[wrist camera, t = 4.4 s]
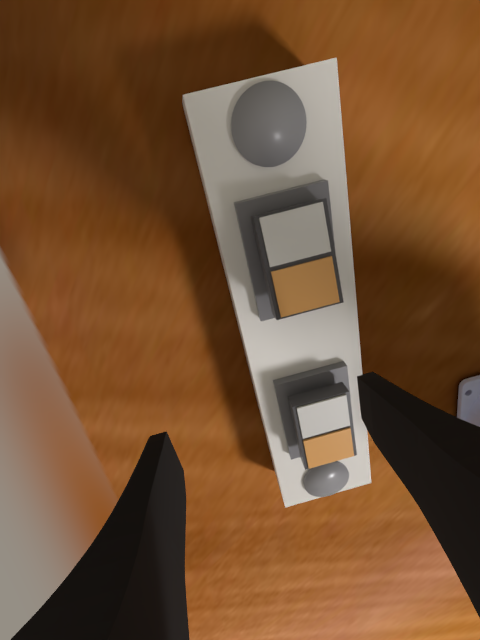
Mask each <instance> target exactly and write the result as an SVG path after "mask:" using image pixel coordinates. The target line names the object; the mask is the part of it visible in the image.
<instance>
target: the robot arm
mask: <svg viewBox="0 0 480 640" xmlns="http://www.w3.org/2000/svg"><path fill="white" fill-rule="evenodd" d="M357 383H358V392H359V401H360V411H361V419H362V420H363V422H364V424H365V426H366V428H367V430H368V432H369V434H370V435H371V437H372V439H373V441H374V443H375V444H376V445H377V447H378V448H379V450H380V451H381V453H382V454H383V456H384V457H385V458H386V460H387V461H388V463H389V464H390V465H391V467H392V468H393V470H394V471H395V472H396V474H397V475H398V477H399V478H400V479H401V481H402V482H403V484H404V485H405V486H406V488H407V489H408V491H409V492H410V494H411V495H412V497H413V498H414V500H415V501H416V503H417V504H418V506H419V507H420V509H421V511H422V512H423V514H424V516H425V518H426V519H427V521H428V523H429V525H430V526H431V528H432V530H433V531H434V533H435V535H436V537H437V539H438V540H439V542H440V544H441V546H442V548H443V549H444V551H445V553H446V555H447V557H448V558H449V560H450V562H451V564H452V566H453V568H454V569H455V571H456V573H457V575H458V577H459V579H460V581H461V583H462V585H463V586H464V588H465V590H466V592H467V594H468V596H469V598H470V600H471V602H472V604H473V606H474V608H475V609H476V611H477V613H478V615H479V617H480V375H478V376H474V377H470V378H467V379H464V380H462V381H461V382H460V384H459V392H458V408H457V417H455V416H453V415H450V414H448V413H446V412H444V411H442V410H440V409H438V408H436V407H434V406H432V405H430V404H428V403H426V402H424V401H422V400H421V399H419V398H417V397H415V396H413V395H411V394H410V393H408V392H406V391H404V390H403V389H401V388H399V387H398V386H396V385H394V384H392V383H391V382H389V381H387V380H386V379H384V378H382V377H381V376H379V375H377V374H376V373H374V372H370V373H367V374H363V375H360V376H357ZM185 528H186V491H185V480H184V470H183V468H182V466H181V463H180V461H179V459H178V457H177V454H176V452H175V450H174V447H173V445H172V443H171V440H170V438H169V436H168V434H167V431H166V432H163V433H159V434H156V435H152V436H150V437H149V439H148V441H147V443H146V445H145V448H144V450H143V452H142V454H141V457H140V459H139V461H138V463H137V465H136V467H135V469H134V472H133V474H132V476H131V478H130V480H129V482H128V484H127V486H126V488H125V489H124V491H123V493H122V495H121V497H120V499H119V500H118V502H117V504H116V506H115V508H114V509H113V511H112V513H111V515H110V516H109V518H108V520H107V521H106V523H105V525H104V526H103V528H102V529H101V531H100V532H99V534H98V535H97V537H96V538H95V540H94V542H93V543H92V544H91V546H90V547H89V548H88V550H87V551H86V553H85V554H84V555H83V557H82V558H81V559H80V561H79V562H78V563H77V565H76V566H75V567H74V569H73V570H72V571H71V573H70V574H69V575H68V576H67V578H66V579H65V580H64V581H63V582H62V584H61V585H60V586H59V587H58V588H57V590H56V591H55V592H54V593H53V594H52V595H51V597H50V598H49V599H48V600H47V601H46V603H45V604H44V605H43V606H42V607H41V608H40V609H39V611H37V612H36V614H35V615H34V616H33V617H32V618H31V619H30V620H29V621H28V622H27V623H26V624H25V625H24V626H23V627H22V628H21V629H20V630H19V631H18V632H17V633H16V635H15V636H14V637H13V638H12V639H11V640H189V629H188V617H187V603H186V588H185Z"/></svg>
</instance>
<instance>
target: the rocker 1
mask: <svg viewBox="0 0 480 640" xmlns="http://www.w3.org/2000/svg"><path fill="white" fill-rule="evenodd" d="M251 221H252V226H253V230H254V234H255V239H256V243H257V248H258V252H259V257H260V261H261V265H262V270H263V274H264V279H265V283H266V287H267V292H268V296H269V301H270V305H271V310H272V314H273V316H274V317H275V319H276V320H280V319H283V318H287V317H291V316H295V315H298V314H302V313H306V312H310V311H313V310H317V309H321V308H325V307H328V306H332V305H336V304H340V303H343V302H344V301H343V295H342V289H341V283H340V277H339V271H338V265H337V259H336V253H335V247H334V241H333V235H332V229H331V223H330V217H329V211H328V205H327V199H326V198H323V199H318V200H314V201H310V202H306V203H302V204H298V205H294V206H290V207H286V208H283V209H279V210H275V211H271V212H267V213H263V214H259V215H255V216H251Z"/></svg>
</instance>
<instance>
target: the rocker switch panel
mask: <svg viewBox="0 0 480 640" xmlns="http://www.w3.org/2000/svg"><path fill="white" fill-rule="evenodd" d="M182 104H183V108H184V112H185V116H186V120H187V124H188V128H189V132H190V136H191V140H192V144H193V148H194V152H195V156H196V160H197V164H198V168H199V172H200V176H201V180H202V184H203V188H204V192H205V196H206V200H207V204H208V208H209V212H210V216H211V220H212V224H213V228H214V232H215V236H216V239H217V243H218V247H219V251H220V255H221V259H222V263H223V267H224V271H225V275H226V279H227V283H228V287H229V291H230V295H231V299H232V303H233V307H234V311H235V315H236V319H237V323H238V327H239V331H240V335H241V339H242V343H243V347H244V351H245V355H246V359H247V363H248V367H249V371H250V375H251V379H252V383H253V387H254V391H255V395H256V399H257V403H258V407H259V411H260V414H261V418H262V422H263V426H264V430H265V434H266V438H267V442H268V446H269V450H270V454H271V458H272V462H273V466H274V470H275V474H276V477H277V481H278V484H279V488H280V491H281V494H282V498H283V501H284V505H285V507H289V506H292V505H296V504H299V503H303V502H306V501H310V500H313V499H317V498H320V497H325V496H330V495H333V494H335V493H337V492H341V491H344V490H348V489H351V488H355V487H358V486H362V485H365V484H369V483H371V473H370V460H369V448H368V436H367V428H366V426H365V424H364V422H363V420H362V419H361V411H360V401H359V392H358V383H357V376H360V375H362V362H361V350H360V338H359V326H358V313H357V301H356V289H355V277H354V264H353V252H352V240H351V228H350V215H349V203H348V191H347V179H346V166H345V154H344V142H343V130H342V117H341V105H340V93H339V81H338V68H337V58H333V59H329V60H325V61H320V62H316V63H312V64H308V65H304V66H300V67H296V68H292V69H287V70H283V71H279V72H275V73H271V74H267V75H263V76H258V77H254V78H250V79H246V80H242V81H238V82H234V83H230V84H225V85H221V86H217V87H213V88H209V89H205V90H201V91H196V92H192V93H188V94H184V95H183V98H182ZM323 198H326V199H327V205H328V211H329V217H330V223H331V229H332V235H333V241H334V247H335V253H336V259H337V265H338V271H339V277H340V283H341V289H342V295H343V301H344V302H343V303H340V304H336V305H332V306H328V307H325V308H321V309H317V310H313V311H310V312H306V313H302V314H298V315H295V316H291V317H287V318H283V319H280V320H276V319H275V317H274V316H273V314H272V310H271V305H270V301H269V296H268V292H267V287H266V283H265V279H264V274H263V270H262V265H261V261H260V257H259V252H258V248H257V243H256V239H255V234H254V230H253V226H252V221H251V216H255V215H259V214H263V213H267V212H271V211H275V210H279V209H283V208H286V207H290V206H294V205H298V204H302V203H306V202H310V201H314V200H318V199H323ZM339 382H343V383H344V385H345V386H346V388H347V389H348V390H349V393H350V402H351V410H352V418H353V426H354V435H355V443H356V451H357V455H355V456H352V457H349V458H345V459H342V460H338V461H335V462H331V463H328V464H324V465H321V466H317V467H314V468H310V469H306V470H305V468H304V465H303V463H302V460H301V458H300V453H299V448H298V443H297V439H296V434H295V429H294V424H293V419H292V415H291V410H290V405H289V400H288V397H289V396H292V395H296V394H299V393H303V392H307V391H310V390H314V389H318V388H321V387H325V386H329V385H332V384H336V383H339Z"/></svg>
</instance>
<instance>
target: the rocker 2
mask: <svg viewBox="0 0 480 640" xmlns="http://www.w3.org/2000/svg"><path fill="white" fill-rule="evenodd" d="M288 400H289V405H290V410H291V415H292V419H293V424H294V429H295V434H296V439H297V443H298V448H299V453H300V458H301V460H302V463H303V465H304V468H305V470H306V469H310V468H314V467H317V466H321V465H324V464H328V463H331V462H335V461H338V460H342V459H345V458H349V457H352V456H355V455H357V451H356V443H355V435H354V426H353V418H352V410H351V402H350V393H349V390H348V389H347V388H346V386H345V385H344V383H343V382H339V383H336V384H332V385H329V386H325V387H321V388H318V389H314V390H310V391H307V392H303V393H299V394H296V395H292V396H289V397H288Z"/></svg>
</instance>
